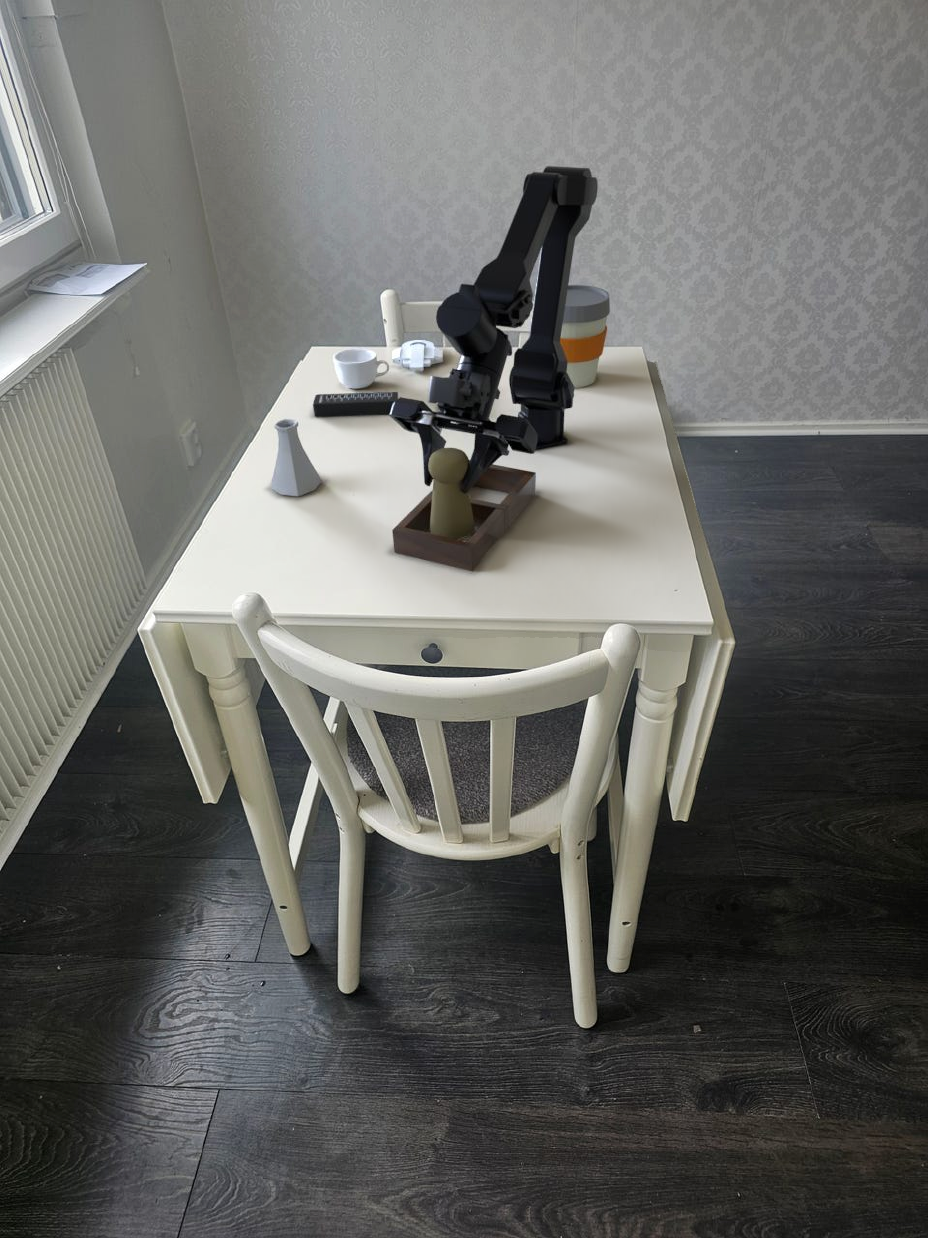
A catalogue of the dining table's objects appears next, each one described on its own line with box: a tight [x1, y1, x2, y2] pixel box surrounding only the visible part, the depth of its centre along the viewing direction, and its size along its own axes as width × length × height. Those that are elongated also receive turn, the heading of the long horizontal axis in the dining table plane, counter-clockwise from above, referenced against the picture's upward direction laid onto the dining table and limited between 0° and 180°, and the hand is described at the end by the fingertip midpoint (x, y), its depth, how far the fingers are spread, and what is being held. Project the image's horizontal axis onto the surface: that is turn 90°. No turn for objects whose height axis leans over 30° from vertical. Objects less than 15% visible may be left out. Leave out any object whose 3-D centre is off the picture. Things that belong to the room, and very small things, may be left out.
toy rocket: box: [391, 339, 444, 372], centre depth 167 cm, size 16×10×2 cm, turn 1°
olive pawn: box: [428, 447, 476, 540], centre depth 110 cm, size 6×6×11 cm
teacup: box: [333, 348, 390, 390], centre depth 157 cm, size 10×8×5 cm
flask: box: [270, 418, 323, 497], centre depth 125 cm, size 7×7×10 cm
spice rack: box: [391, 459, 537, 572], centre depth 117 cm, size 22×11×4 cm, turn 155°
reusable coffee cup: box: [560, 284, 611, 389], centre depth 153 cm, size 13×13×15 cm
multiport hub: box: [312, 391, 400, 418], centre depth 148 cm, size 4×14×2 cm, turn 91°
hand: (445, 488), depth 108 cm, fingers closed on olive pawn, 5 cm apart
